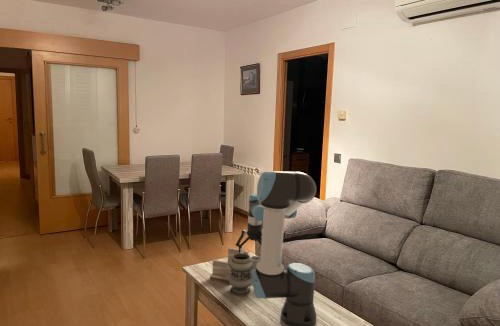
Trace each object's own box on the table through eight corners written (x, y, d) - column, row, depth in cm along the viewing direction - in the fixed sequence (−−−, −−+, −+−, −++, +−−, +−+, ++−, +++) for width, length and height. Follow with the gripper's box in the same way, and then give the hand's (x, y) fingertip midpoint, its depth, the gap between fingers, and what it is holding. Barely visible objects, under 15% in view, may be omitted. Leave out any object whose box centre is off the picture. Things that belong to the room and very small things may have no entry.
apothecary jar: (223, 289, 176) (224, 254, 173) (242, 282, 183) (243, 249, 181) (237, 299, 166) (239, 263, 164) (257, 292, 174) (259, 257, 172)
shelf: (230, 284, 181) (231, 266, 180) (209, 279, 185) (210, 262, 184) (249, 265, 205) (250, 249, 204) (230, 261, 209) (231, 245, 208)
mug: (264, 275, 193) (265, 254, 191) (251, 282, 184) (252, 260, 182) (253, 271, 197) (254, 250, 196) (240, 278, 188) (241, 256, 187)
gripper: (279, 224, 186) (277, 263, 189) (236, 217, 194) (234, 254, 198) (275, 229, 179) (273, 268, 182) (230, 221, 188) (229, 259, 191)
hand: (253, 261), depth 190 cm, fingers open, 13 cm apart
